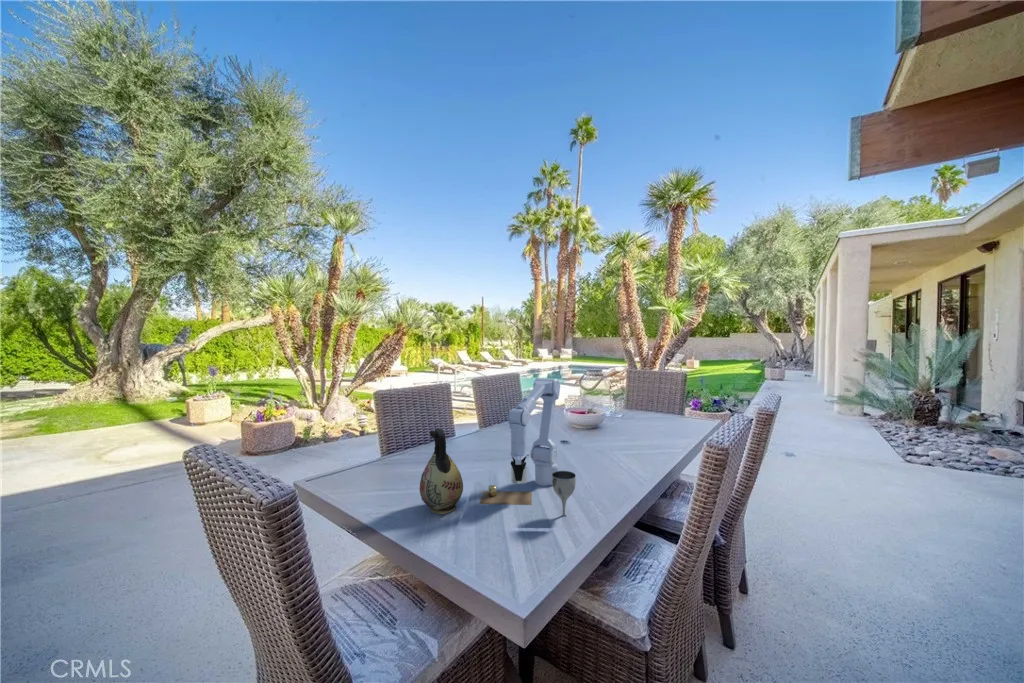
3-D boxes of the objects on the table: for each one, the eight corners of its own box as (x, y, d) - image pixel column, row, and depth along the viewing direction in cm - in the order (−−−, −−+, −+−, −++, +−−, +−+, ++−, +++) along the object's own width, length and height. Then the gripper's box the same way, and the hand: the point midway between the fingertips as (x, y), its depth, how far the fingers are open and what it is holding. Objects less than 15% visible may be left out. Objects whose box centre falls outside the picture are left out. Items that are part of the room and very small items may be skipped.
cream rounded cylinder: (496, 494, 154) (496, 485, 154) (495, 497, 151) (495, 488, 151) (488, 494, 154) (488, 485, 154) (488, 497, 151) (487, 488, 151)
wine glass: (570, 526, 130) (569, 480, 130) (548, 520, 135) (547, 476, 134) (579, 516, 137) (579, 473, 137) (558, 511, 141) (558, 469, 141)
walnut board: (531, 494, 156) (531, 491, 156) (531, 507, 144) (531, 504, 144) (483, 493, 157) (483, 490, 157) (479, 506, 145) (479, 504, 145)
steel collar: (526, 478, 151) (526, 465, 151) (526, 483, 145) (526, 470, 145) (511, 478, 151) (511, 464, 151) (511, 483, 146) (511, 470, 146)
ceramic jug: (416, 504, 148) (415, 423, 147) (457, 497, 154) (456, 420, 153) (424, 524, 132) (423, 434, 132) (469, 516, 138) (468, 430, 137)
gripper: (529, 446, 141) (529, 485, 141) (529, 436, 155) (529, 470, 155) (509, 446, 141) (509, 485, 141) (511, 436, 155) (511, 470, 156)
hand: (518, 477), depth 148 cm, fingers closed on steel collar, 6 cm apart
